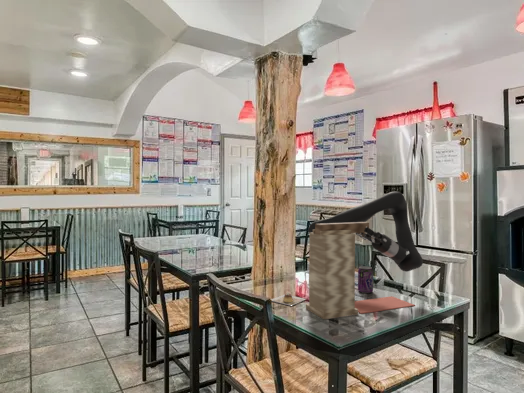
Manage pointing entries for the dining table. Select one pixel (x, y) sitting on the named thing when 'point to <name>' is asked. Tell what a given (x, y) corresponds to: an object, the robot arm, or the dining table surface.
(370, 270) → the beverage can
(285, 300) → the dessert
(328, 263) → the pedestal
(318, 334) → the dining table surface
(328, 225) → the block
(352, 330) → the dining table surface
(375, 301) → the mat
